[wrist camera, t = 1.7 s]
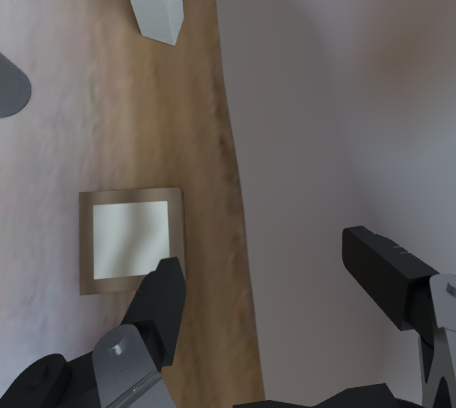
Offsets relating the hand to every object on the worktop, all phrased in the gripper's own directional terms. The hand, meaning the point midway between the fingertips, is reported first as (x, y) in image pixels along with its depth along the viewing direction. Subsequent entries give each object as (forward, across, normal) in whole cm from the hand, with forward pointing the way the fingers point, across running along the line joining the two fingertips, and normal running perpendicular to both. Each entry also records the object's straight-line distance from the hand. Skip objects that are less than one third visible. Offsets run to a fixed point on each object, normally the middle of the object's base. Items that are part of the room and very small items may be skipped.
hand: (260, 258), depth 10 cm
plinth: (+22, +16, +8) cm, 28 cm away
